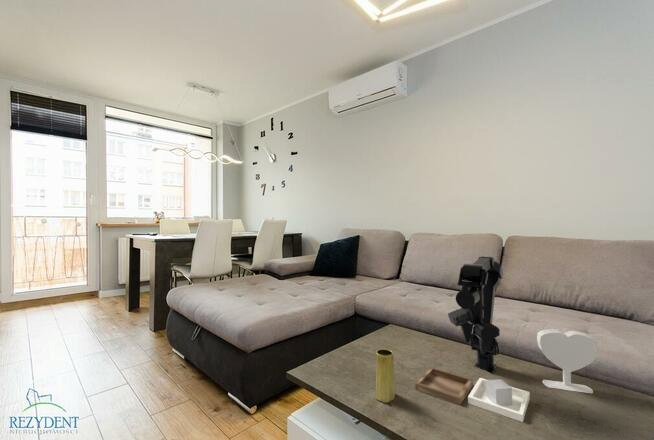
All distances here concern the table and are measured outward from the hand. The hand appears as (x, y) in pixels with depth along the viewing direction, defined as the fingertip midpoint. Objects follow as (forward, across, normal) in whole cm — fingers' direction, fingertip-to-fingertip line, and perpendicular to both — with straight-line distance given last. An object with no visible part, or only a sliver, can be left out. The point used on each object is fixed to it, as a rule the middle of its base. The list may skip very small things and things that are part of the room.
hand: (474, 347), depth 104 cm
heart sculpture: (+12, +6, +28) cm, 31 cm away
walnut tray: (+12, +2, -12) cm, 17 cm away
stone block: (+11, +11, +1) cm, 16 cm away
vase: (+12, +4, -32) cm, 35 cm away
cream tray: (+12, +11, +1) cm, 16 cm away
